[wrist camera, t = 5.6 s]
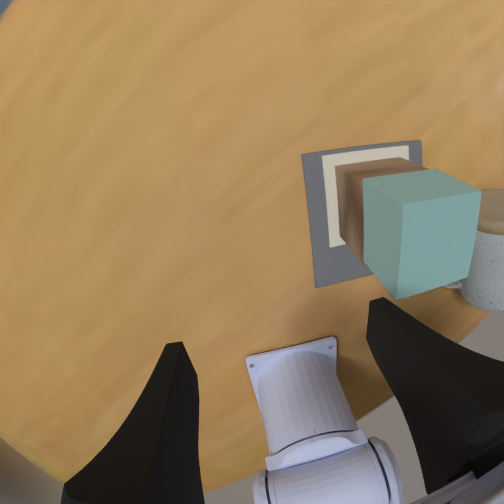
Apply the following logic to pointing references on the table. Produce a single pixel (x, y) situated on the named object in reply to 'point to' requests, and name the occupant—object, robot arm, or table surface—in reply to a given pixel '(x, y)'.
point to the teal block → (419, 230)
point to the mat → (326, 206)
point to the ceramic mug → (486, 257)
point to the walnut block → (361, 195)
